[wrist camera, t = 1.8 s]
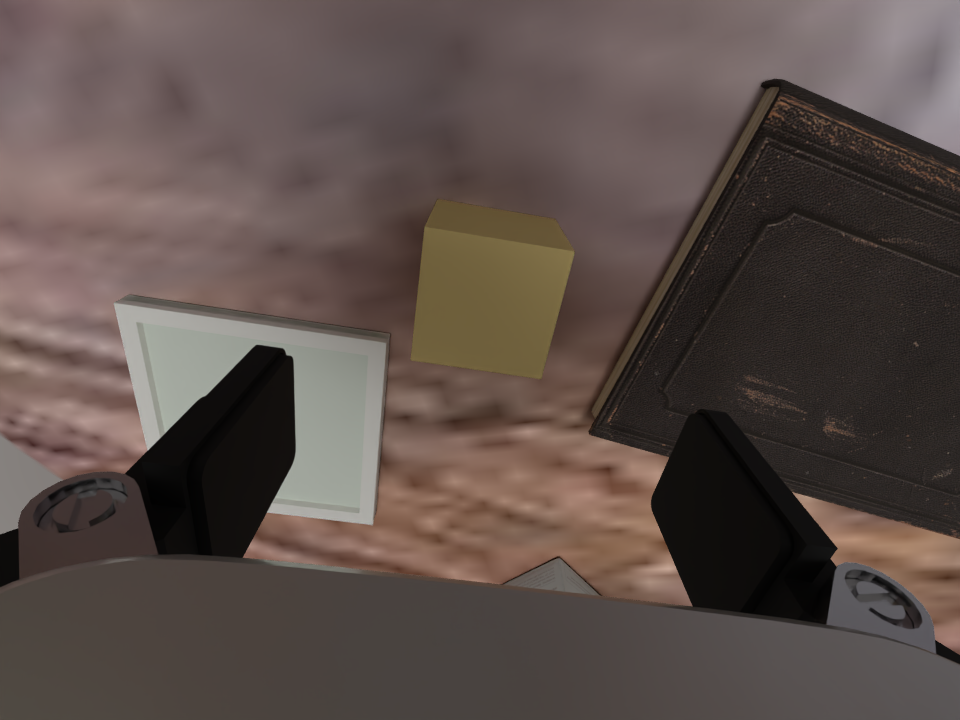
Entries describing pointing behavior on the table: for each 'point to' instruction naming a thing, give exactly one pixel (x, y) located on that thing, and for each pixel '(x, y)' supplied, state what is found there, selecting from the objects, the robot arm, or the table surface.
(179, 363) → the mat
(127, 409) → the table surface
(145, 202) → the table surface
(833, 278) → the hardcover book
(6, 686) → the robot arm
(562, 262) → the ochre cube
